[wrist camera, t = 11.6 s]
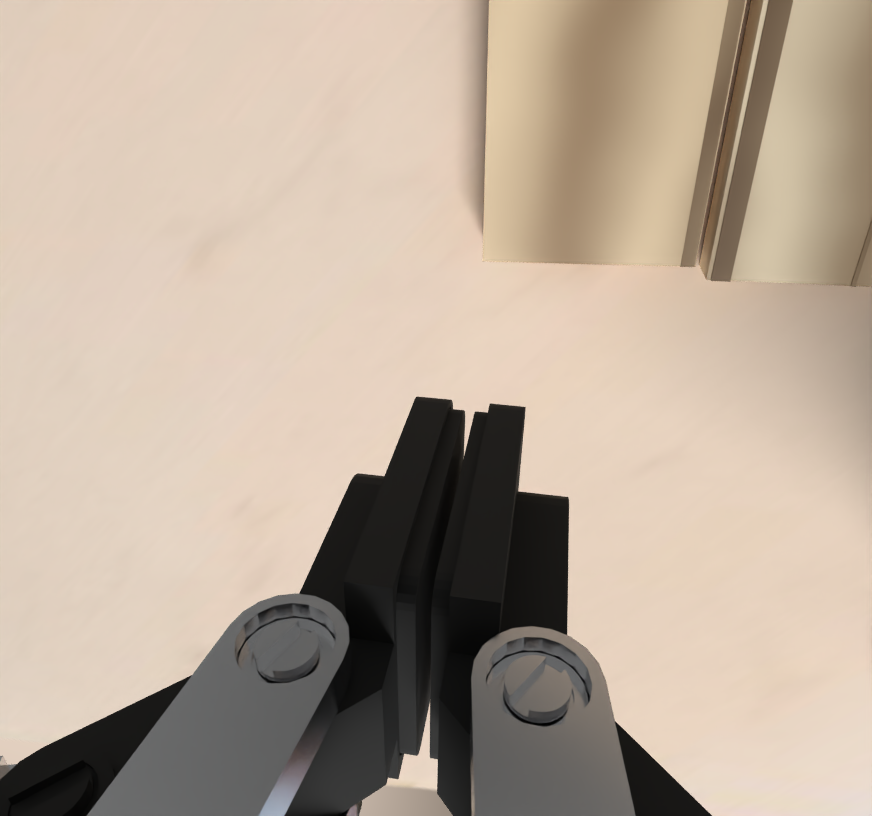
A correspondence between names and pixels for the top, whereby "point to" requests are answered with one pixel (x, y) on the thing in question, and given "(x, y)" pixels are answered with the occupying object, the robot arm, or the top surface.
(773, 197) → the laid oak floor row
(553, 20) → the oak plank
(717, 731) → the top surface
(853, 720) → the top surface
